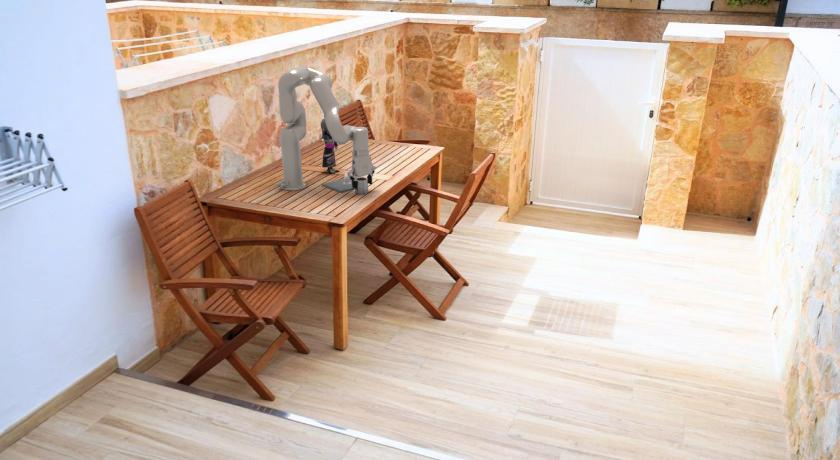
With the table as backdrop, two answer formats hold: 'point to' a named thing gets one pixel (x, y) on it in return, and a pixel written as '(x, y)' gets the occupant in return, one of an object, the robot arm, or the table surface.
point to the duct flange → (340, 185)
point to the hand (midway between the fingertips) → (362, 185)
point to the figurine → (328, 149)
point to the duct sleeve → (362, 186)
